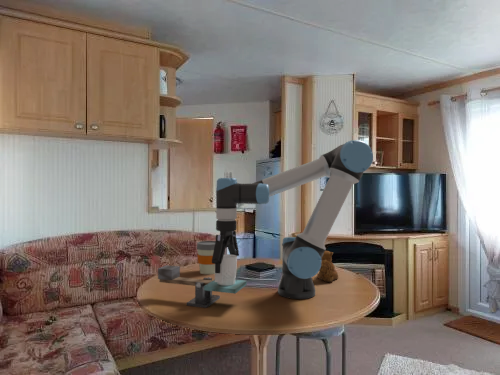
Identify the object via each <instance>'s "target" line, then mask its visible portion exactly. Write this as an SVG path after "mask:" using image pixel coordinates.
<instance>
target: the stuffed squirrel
mask: <svg viewBox="0 0 500 375" xmlns="http://www.w3.org/2000/svg"><path fill="white" fill-rule="evenodd" d="M333 254H334V252H332V251H329V250H325V252H324V254H323V256H322V258H321V268H320V270H319V272H318V273H317V274H316V277H317V279H319V280H322V281H324V282H329V283H332V282H333V281H335V280H338V279H339V274H338V272H337V270H336V269H335V268H336V267H335V265H334V263H333V262H332V260H333V259H332V258H333V257H332V256H333Z"/></svg>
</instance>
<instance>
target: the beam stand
mask: <svg viewBox="0 0 500 375" xmlns="http://www.w3.org/2000/svg"><path fill="white" fill-rule="evenodd" d="M203 280H213V278H212V277H210V276H208V277H203ZM204 286H205V283H204V282H196V283H195V286H194V291H195V293H194V294H195V295H194V297H193V298H192V299H190V300H188V301H187V302H186V306H189V307H197V308H203V309H206V308H208V307H210V306H211V305H213V304H214V303H215V302H217V301H218V300H220V299H221V295H218V294H213V291H206V290H204Z"/></svg>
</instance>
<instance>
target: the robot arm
mask: <svg viewBox="0 0 500 375" xmlns="http://www.w3.org/2000/svg"><path fill="white" fill-rule="evenodd" d="M373 161H374V152H373V150H372V148H371V146H370V145H369V144H368V143H366V142H365V141H363V140H359V139H356V140H355V139H354V140H348V141H346V142H345V143H342V144H340V145H338V146H337V147H335V148H333V149H332V150H330V151H328V152H326V153H323V154H320V156H319V158H318V159H315V160H312V161H309V162H307V163H304V164H301V165H297V166H295V167H293V168H289V169H288V170H285V171H281V172H279V173H277V174H274V175H272V176H269V177H266V178H263V179H261V180H258V181H255V182H252V183H239V182H238V181H237V180H238V179H237V178H235V177H234V178H233V177H220V178H218V179H217V180H216V188H215V190H216V191H215V193H216V194H215V199H216V200H215V205H216V210H215V214H216V217H215V218H216V219H217V220H216V222H215V230H216V231H217V232H219V234H216V235H215V241H216V242H215V247H214V252H213V257H212V263H214V264H215V274H214V280H215V282H221V283H222V282H223V263H222V259H223V256H224V254H225V252H226V248H227V249H228V253H229V254H231V255H236V256H237V257H239V256H240V251H239V250H240V249H239V246H238V240H237V223H238V222H237V220H236V219H237V218H238V213H237V210H238V208H237V205H238V204H240V205H243V204H248V205H250V204H251V205H262V204H263V205H264V204H265V205H266V204H268V203H269V201H270V197H272V196H275V195H277V194H281V193H283V192H285V191H289V190H291V189H294V188H298V187H300V186H303V185H305V184H308V183H311V182H313V181H315V180H316V181H317V180H318V179H321V178H323V177H327V178H329V179H328V181H327V182H326V185H325V186H324V189H323V191H322V193H321V195H320V197H319V199H318V201H317V202H316V205H315V207H314V209H313V210H312V212H311V215H310V217H309V219H308V221H307V224H306V225H305V227H304V229H303V231H302V232H300V233H297V234H296V236H295V237H293V236H290V237H289V236H287V237H286V236H285V237H283V239H282V243H281V246H282V252H281V253H282V258H281V259H282V260H281V262H282V264H281V265H282V268H281V270H282V273H281V274H282V275H281V277H280V280H279V283H278V287H277V294H278V296H280V297H283V298H287V299H292V300H293V299H295V300H304V299H311V298H313V297H315V296H316V287H315V284H314V280H313V277H315V276H317V274H319V270H320V268H321V261H322V259H321V258H322V256H323V254H324V252H325V251H327V250H326V249H327V248H326V246H325V243H326V240H327V238H328V236H329V234H330V231H331V230H332V228H333V225H334V223H335V221H336V220H337V217H338V215H339V213H340V211H341V209H342V207H343V205H344V203H345V201H346V199H347V198H348V195H349V193H350V191H351V189H352V186H353V185H355V184H357V183H359V182H360V181H361V178H362V177H363V175H364V172H366V171H367V170H368V169H369V168H371V166H372V164H373Z"/></svg>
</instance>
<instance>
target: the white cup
mask: <svg viewBox="0 0 500 375" xmlns="http://www.w3.org/2000/svg"><path fill="white" fill-rule="evenodd" d="M222 263H223V282H222V283H221V282H217V284H218V285H223V286H229V285H234V284H235V280H236V276H237V268H238V267H237V266H238V265H237V264H238V256H236V255H231V254H230V253H229V254H228V253H226V254H225V253H224V256H223V259H222Z"/></svg>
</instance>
